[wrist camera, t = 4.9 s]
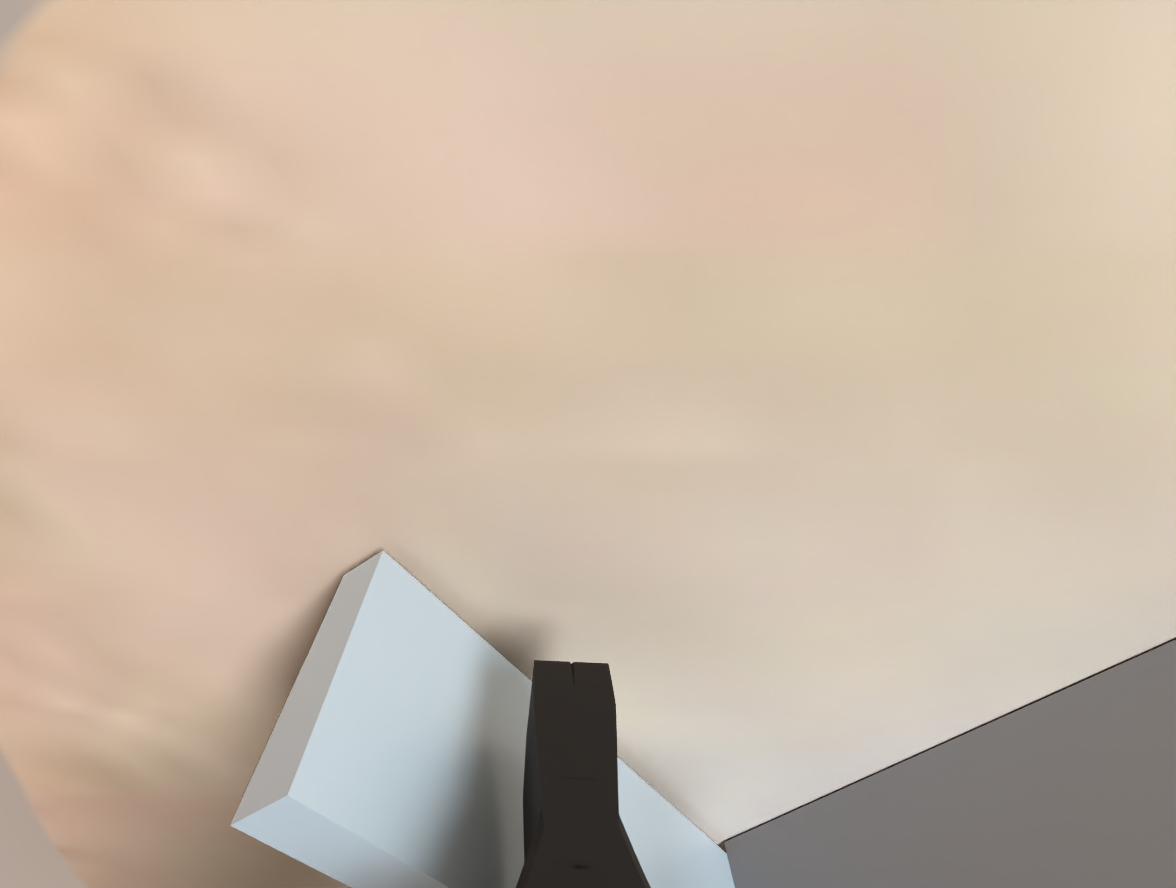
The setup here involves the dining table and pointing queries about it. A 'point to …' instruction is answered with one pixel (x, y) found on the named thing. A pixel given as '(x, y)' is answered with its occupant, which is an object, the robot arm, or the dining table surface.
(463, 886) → the side door
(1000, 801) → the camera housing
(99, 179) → the dining table surface
